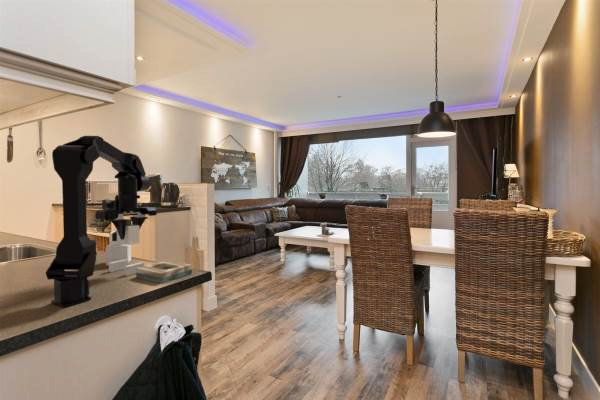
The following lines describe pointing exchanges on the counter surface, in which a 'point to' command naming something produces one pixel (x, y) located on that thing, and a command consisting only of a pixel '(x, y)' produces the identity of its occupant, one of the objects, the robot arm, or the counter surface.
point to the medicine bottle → (117, 250)
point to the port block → (163, 271)
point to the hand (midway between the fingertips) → (128, 238)
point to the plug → (129, 234)
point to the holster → (124, 267)
